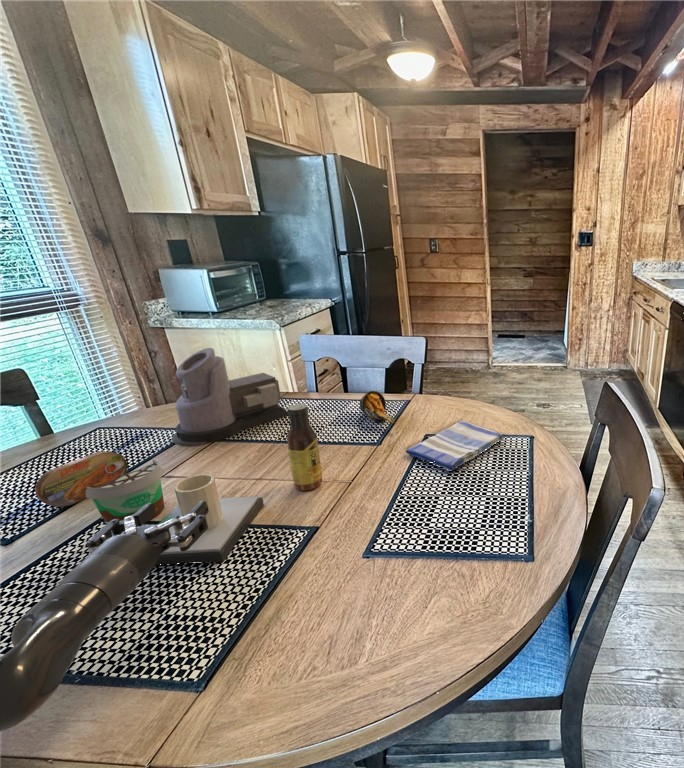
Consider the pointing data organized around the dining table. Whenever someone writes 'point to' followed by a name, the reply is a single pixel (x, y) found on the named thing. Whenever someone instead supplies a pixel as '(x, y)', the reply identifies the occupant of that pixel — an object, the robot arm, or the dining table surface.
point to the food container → (129, 493)
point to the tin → (79, 478)
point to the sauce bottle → (303, 450)
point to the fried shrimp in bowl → (374, 406)
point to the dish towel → (455, 445)
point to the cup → (200, 497)
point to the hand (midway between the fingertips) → (178, 506)
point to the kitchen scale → (215, 532)
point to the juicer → (221, 400)
